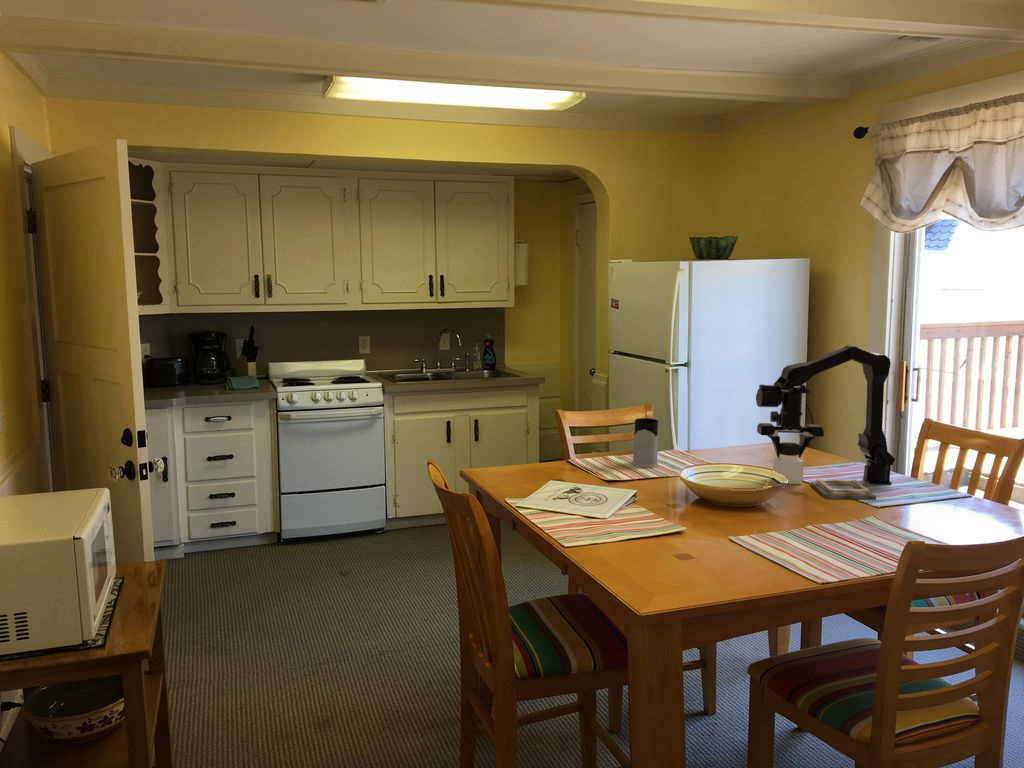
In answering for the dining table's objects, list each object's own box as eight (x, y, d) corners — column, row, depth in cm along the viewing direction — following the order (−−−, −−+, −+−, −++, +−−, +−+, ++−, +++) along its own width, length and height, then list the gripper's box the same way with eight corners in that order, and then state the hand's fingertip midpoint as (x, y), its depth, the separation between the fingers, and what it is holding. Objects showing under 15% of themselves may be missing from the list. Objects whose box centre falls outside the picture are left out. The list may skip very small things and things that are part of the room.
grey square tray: (857, 486, 248) (858, 479, 248) (875, 499, 234) (876, 492, 234) (810, 485, 249) (811, 478, 249) (825, 498, 235) (826, 490, 235)
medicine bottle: (802, 484, 250) (804, 445, 248) (778, 484, 250) (781, 445, 248) (794, 478, 257) (797, 440, 255) (771, 477, 257) (774, 440, 255)
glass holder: (629, 467, 268) (631, 421, 266) (636, 457, 282) (637, 414, 280) (656, 469, 266) (658, 423, 264) (661, 459, 279) (663, 415, 277)
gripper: (814, 403, 257) (811, 451, 260) (754, 402, 258) (751, 450, 260) (826, 409, 246) (822, 460, 249) (763, 408, 247) (760, 459, 249)
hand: (788, 457), depth 252 cm, fingers closed on medicine bottle, 6 cm apart
